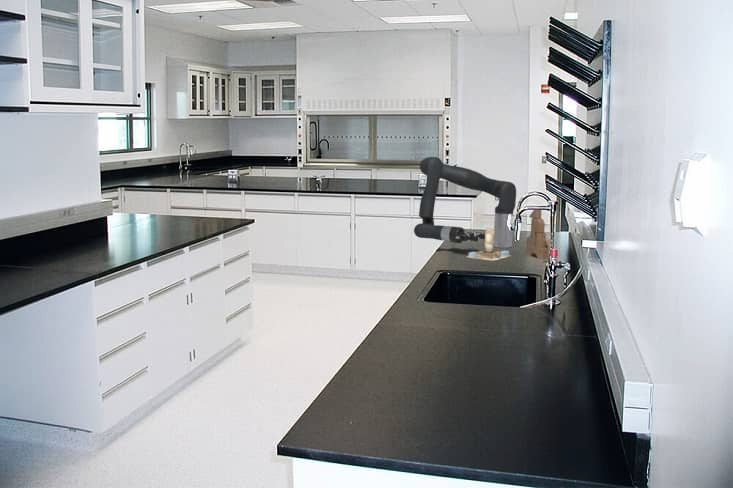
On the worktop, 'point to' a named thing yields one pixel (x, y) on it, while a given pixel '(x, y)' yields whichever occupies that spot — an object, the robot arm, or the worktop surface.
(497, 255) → the jig
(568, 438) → the worktop surface
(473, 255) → the tail piece
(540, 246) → the wooden toy
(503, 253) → the wing piece
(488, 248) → the fuselage dowel
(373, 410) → the worktop surface
